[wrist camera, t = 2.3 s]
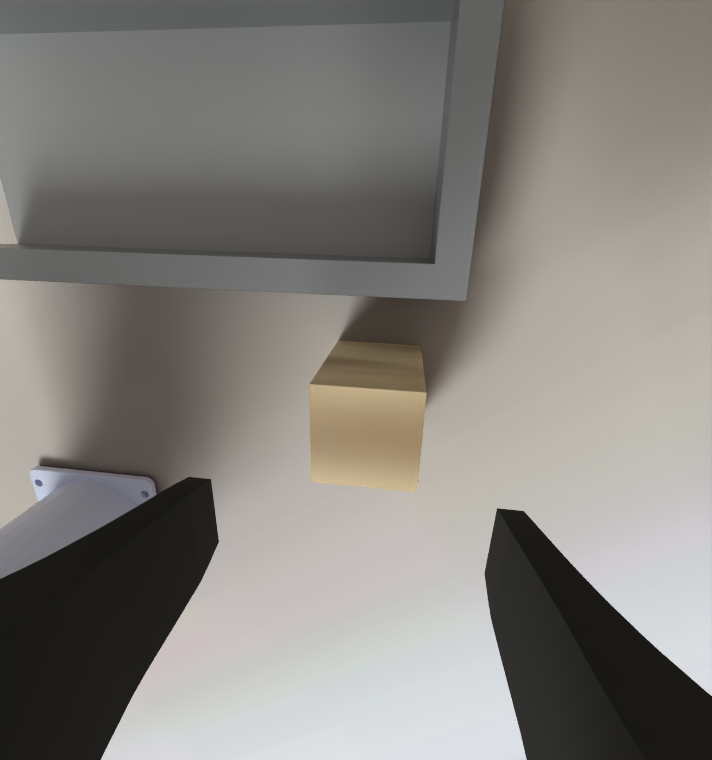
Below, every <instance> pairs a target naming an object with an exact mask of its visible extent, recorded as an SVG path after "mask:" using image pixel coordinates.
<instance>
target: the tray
mask: <svg viewBox="0 0 712 760" xmlns="http://www.w3.org/2000/svg"><path fill="white" fill-rule="evenodd" d="M504 1H505V0H0V177H1V181H2V185H3V188H4V192H5V196H6V200H7V203H8V207H9V211H10V215H11V218H12V222H13V226H14V230H15V233H16V237H17V241H18V244H0V279H7V280H28V281H49V282H71V283H92V284H114V285H135V286H156V287H178V288H199V289H220V290H242V291H263V292H285V293H306V294H327V295H349V296H370V297H391V298H413V299H434V300H456V301H466V298H467V290H468V282H469V274H470V267H471V259H472V251H473V243H474V235H475V227H476V220H477V212H478V204H479V196H480V188H481V181H482V173H483V165H484V157H485V149H486V142H487V134H488V126H489V118H490V110H491V102H492V95H493V87H494V79H495V71H496V63H497V56H498V48H499V40H500V32H501V24H502V17H503V9H504Z"/></svg>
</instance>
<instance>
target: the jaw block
mask: <svg viewBox="0 0 712 760" xmlns="http://www.w3.org/2000/svg"><path fill="white" fill-rule="evenodd" d="M426 395H427V390H426V382H425V374H424V366H423V358H422V350H421V345H406V344H389V343H372V342H355V341H339V340H338V342H337V343H336V345H335V346H334V348H333V350H332V351H331V353H330V354H329V356H328V357H327V359H326V360H325V362H324V363H323V365H322V366H321V368H320V369H319V371H318V372H317V374H316V375H315V377H314V378H313V380H312V381H311V383H310V437H311V482H320V483H330V484H340V485H350V486H360V487H370V488H380V489H390V490H400V491H410V492H417V485H418V475H419V465H420V455H421V445H422V435H423V425H424V415H425V405H426Z"/></svg>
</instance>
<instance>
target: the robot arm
mask: <svg viewBox="0 0 712 760" xmlns="http://www.w3.org/2000/svg"><path fill="white" fill-rule="evenodd" d="M30 477H31V480H32V483H33V486H34V490H35V493H36V496H37V499H38V502H37V503H36V504H35V505H33V506H32V507H30V508H29V509H28V510H26V511H25V512H24V513H22V514H21V515H19V516H18V517H17V518H15V519H14V520H12V521H11V522H10V523H8V524H7V525H6V526H4V527H3V528H1V529H0V760H101V758H102V756H103V754H104V752H105V750H106V748H107V746H108V744H109V742H110V740H111V738H112V736H113V734H114V732H115V730H116V728H117V726H118V724H119V722H120V720H121V718H122V716H123V714H124V712H125V710H126V708H127V706H128V704H129V702H130V700H131V698H132V696H133V694H134V692H135V691H136V689H137V687H138V685H139V683H140V682H141V680H142V678H143V676H144V675H145V673H146V671H147V670H148V668H149V666H150V665H151V663H152V661H153V660H154V658H155V656H156V655H157V653H158V651H159V650H160V648H161V647H162V645H163V643H164V642H165V640H166V638H167V637H168V635H169V633H170V632H171V630H172V628H173V627H174V625H175V624H176V622H177V620H178V619H179V617H180V615H181V614H182V612H183V610H184V609H185V607H186V605H187V604H188V602H189V600H190V599H191V597H192V595H193V594H194V592H195V590H196V589H197V587H198V585H199V583H200V582H201V580H202V578H203V576H204V574H205V571H206V569H207V567H208V565H209V563H210V561H211V558H212V556H213V554H214V551H215V549H216V547H217V545H218V542H219V540H218V532H217V524H216V516H215V508H214V500H213V492H212V484H211V479H202V478H193V477H188V478H186V479H184V480H182V481H180V482H178V483H176V484H175V485H173V486H171V487H169V488H168V489H166V490H164V491H162V492H161V493H159V494H156V488H155V484H154V482H153V480H152V479H150V478H148V477H142V476H132V475H122V474H113V473H103V472H93V471H84V470H74V469H64V468H54V467H45V466H36V467H35V468H33V469H32V470H30ZM146 492H147V493H146ZM485 580H486V587H487V595H488V602H489V608H490V615H491V620H492V624H493V628H494V632H495V636H496V640H497V644H498V648H499V652H500V656H501V659H502V663H503V667H504V671H505V675H506V679H507V682H508V686H509V690H510V694H511V698H512V701H513V705H514V709H515V713H516V717H517V721H518V724H519V728H520V732H521V736H522V741H523V745H524V750H525V754H526V758H527V760H712V696H711V695H710V694H708V693H707V692H706V691H705V690H704V689H702V688H701V687H700V686H699V685H698V684H697V683H696V682H694V681H693V680H692V679H691V678H690V677H689V676H687V675H686V674H685V673H684V672H683V671H682V670H681V669H679V668H678V667H677V666H676V665H675V664H674V663H673V662H671V661H670V660H669V659H668V658H667V657H666V656H664V655H663V654H662V653H661V652H660V651H659V650H658V649H657V648H656V647H654V646H653V645H652V644H651V643H650V642H649V641H648V640H647V639H646V638H645V637H644V636H643V635H641V634H640V633H639V632H638V631H637V630H636V629H635V628H634V627H633V626H632V625H631V624H630V623H629V622H628V621H627V620H626V619H625V618H624V617H623V616H622V615H621V614H620V613H619V612H618V611H617V610H616V609H614V608H613V607H612V606H611V605H610V604H609V603H608V602H607V601H606V600H605V599H604V598H603V597H602V596H601V595H600V594H599V592H598V591H597V590H596V589H595V588H594V587H593V586H592V585H591V584H590V583H589V582H588V581H587V580H586V579H585V578H584V577H583V576H582V575H581V574H580V573H579V572H578V571H577V570H576V568H575V567H574V566H573V565H572V564H571V563H570V562H569V561H568V560H567V559H566V558H565V557H564V555H563V554H562V553H561V552H560V551H559V550H558V549H557V548H556V547H555V545H554V544H553V543H552V542H551V541H550V540H549V539H548V538H547V537H546V535H545V534H544V533H543V532H542V531H541V530H540V529H539V528H538V526H537V525H536V524H535V523H534V522H533V521H532V520H531V519H530V518H529V516H528V515H527V514H526V513H525V512H524V511H517V510H507V509H497V512H496V517H495V522H494V527H493V533H492V538H491V543H490V548H489V553H488V559H487V564H486V569H485Z"/></svg>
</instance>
